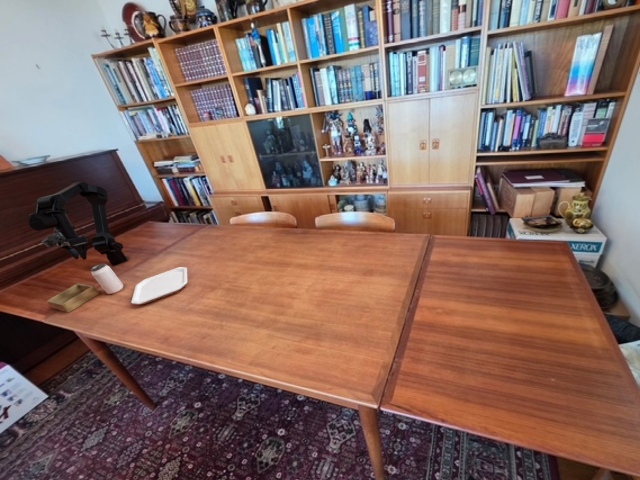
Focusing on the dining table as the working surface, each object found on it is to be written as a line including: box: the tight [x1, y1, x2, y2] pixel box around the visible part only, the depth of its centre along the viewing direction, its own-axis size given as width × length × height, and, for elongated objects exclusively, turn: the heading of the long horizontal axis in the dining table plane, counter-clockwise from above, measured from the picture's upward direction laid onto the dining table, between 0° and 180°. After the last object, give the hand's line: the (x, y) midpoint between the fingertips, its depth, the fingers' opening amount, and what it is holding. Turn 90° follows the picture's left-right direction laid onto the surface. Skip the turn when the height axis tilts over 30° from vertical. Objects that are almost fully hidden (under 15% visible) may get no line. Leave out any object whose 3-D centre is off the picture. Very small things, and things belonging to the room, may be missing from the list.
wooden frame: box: [46, 283, 100, 313], centre depth 126 cm, size 12×12×4 cm
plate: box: [130, 266, 188, 306], centre depth 124 cm, size 21×21×2 cm
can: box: [90, 263, 125, 295], centre depth 126 cm, size 6×6×12 cm
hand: (81, 259), depth 133 cm, fingers open, 9 cm apart
